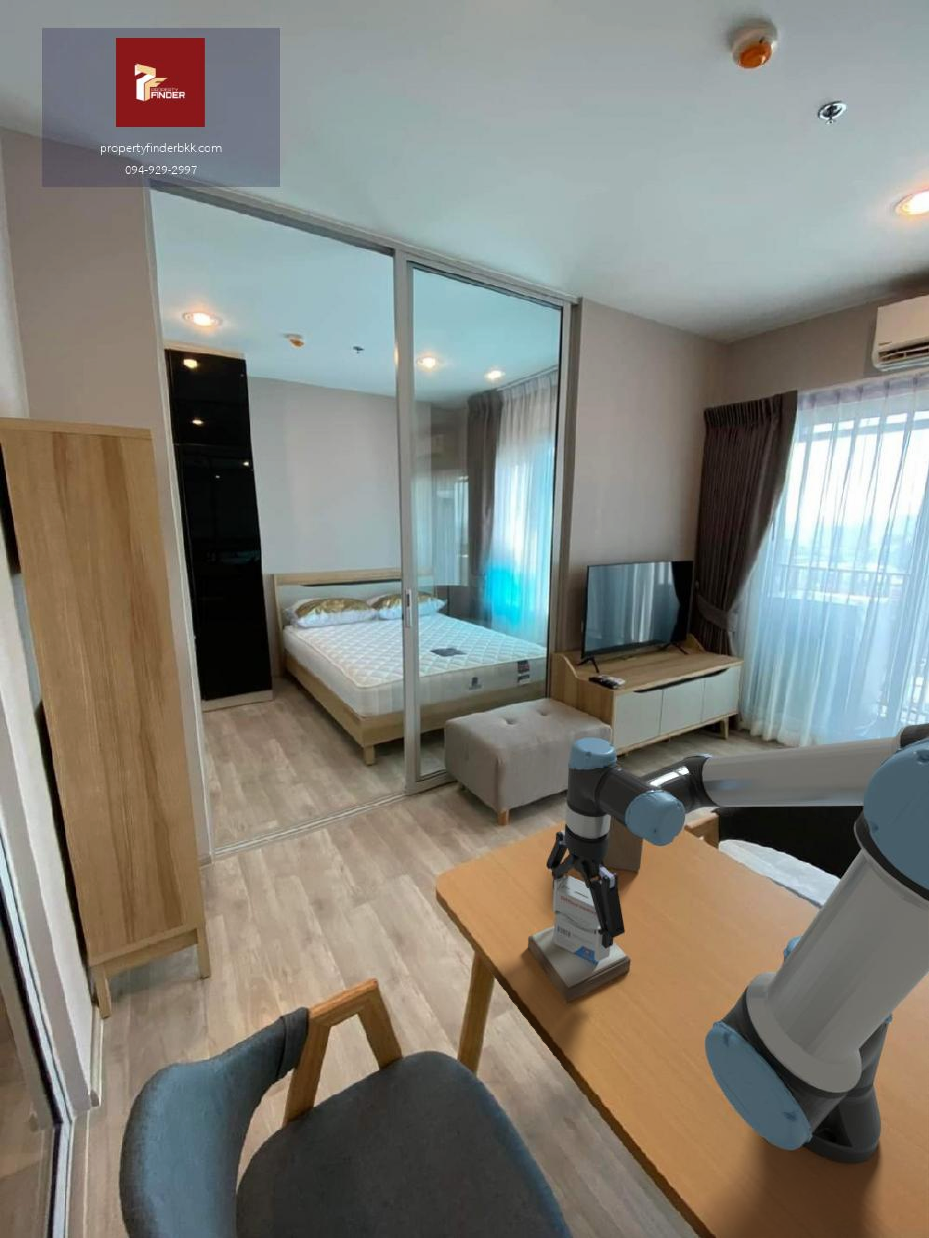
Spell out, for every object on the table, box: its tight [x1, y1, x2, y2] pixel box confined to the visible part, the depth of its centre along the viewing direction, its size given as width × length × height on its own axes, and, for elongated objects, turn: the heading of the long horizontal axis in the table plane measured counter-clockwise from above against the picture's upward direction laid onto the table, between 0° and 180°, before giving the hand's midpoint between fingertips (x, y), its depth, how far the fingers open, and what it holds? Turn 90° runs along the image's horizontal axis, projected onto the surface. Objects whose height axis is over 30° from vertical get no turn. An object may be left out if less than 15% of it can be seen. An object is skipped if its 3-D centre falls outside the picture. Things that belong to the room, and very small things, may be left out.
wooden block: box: [604, 773, 644, 873], centre depth 116 cm, size 10×10×20 cm
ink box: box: [553, 874, 607, 964], centre depth 90 cm, size 8×5×12 cm, turn 58°
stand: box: [527, 925, 632, 1004], centre depth 91 cm, size 12×14×3 cm
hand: (579, 931), depth 90 cm, fingers open, 11 cm apart
